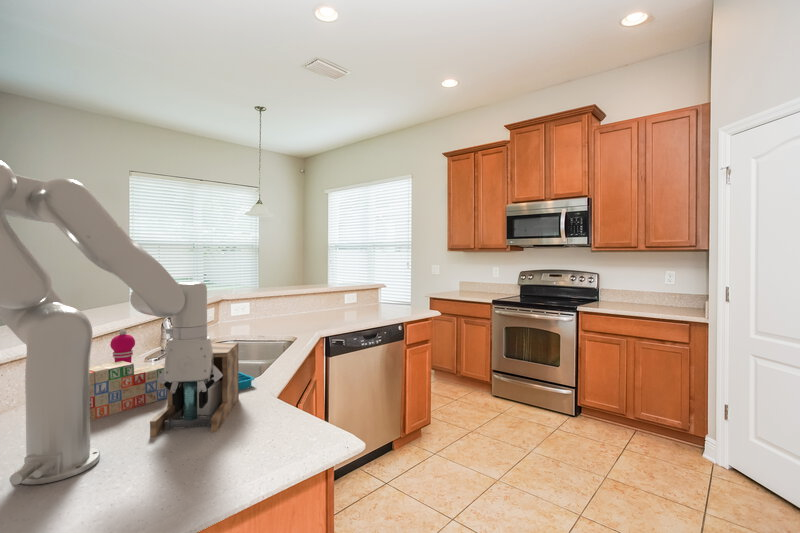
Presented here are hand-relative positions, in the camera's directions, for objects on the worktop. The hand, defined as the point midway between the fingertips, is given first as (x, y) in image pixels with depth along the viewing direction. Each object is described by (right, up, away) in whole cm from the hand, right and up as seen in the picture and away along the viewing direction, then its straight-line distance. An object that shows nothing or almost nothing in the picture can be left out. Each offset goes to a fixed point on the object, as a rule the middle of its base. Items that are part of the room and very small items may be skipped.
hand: (190, 406), depth 98 cm
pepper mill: (-31, -5, +21) cm, 37 cm away
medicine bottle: (-2, -5, +10) cm, 12 cm away
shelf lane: (-1, -5, +7) cm, 9 cm away
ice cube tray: (-6, -5, +33) cm, 34 cm away
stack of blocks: (-25, -5, +13) cm, 29 cm away
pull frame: (-1, -5, +8) cm, 9 cm away
